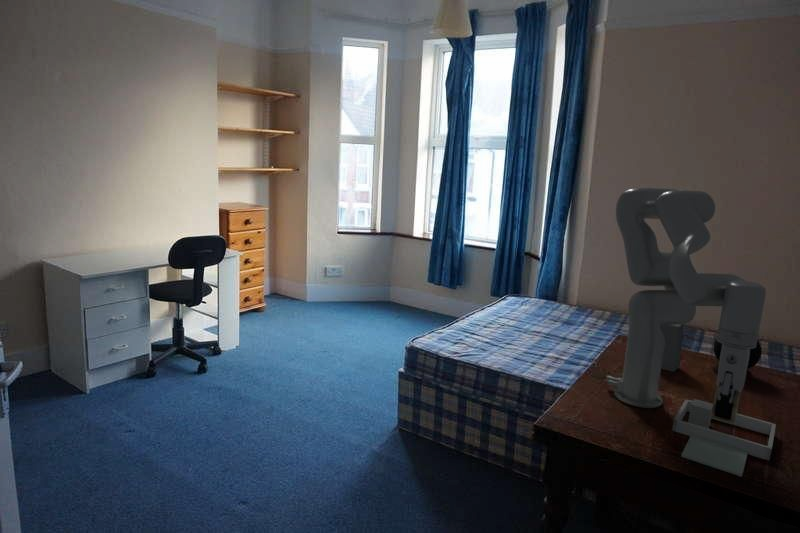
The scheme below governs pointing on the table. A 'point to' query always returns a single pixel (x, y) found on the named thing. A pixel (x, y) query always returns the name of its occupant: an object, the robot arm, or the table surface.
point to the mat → (715, 455)
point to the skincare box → (672, 346)
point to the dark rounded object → (753, 358)
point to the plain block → (700, 413)
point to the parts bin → (726, 439)
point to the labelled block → (735, 405)
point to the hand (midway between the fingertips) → (723, 412)
